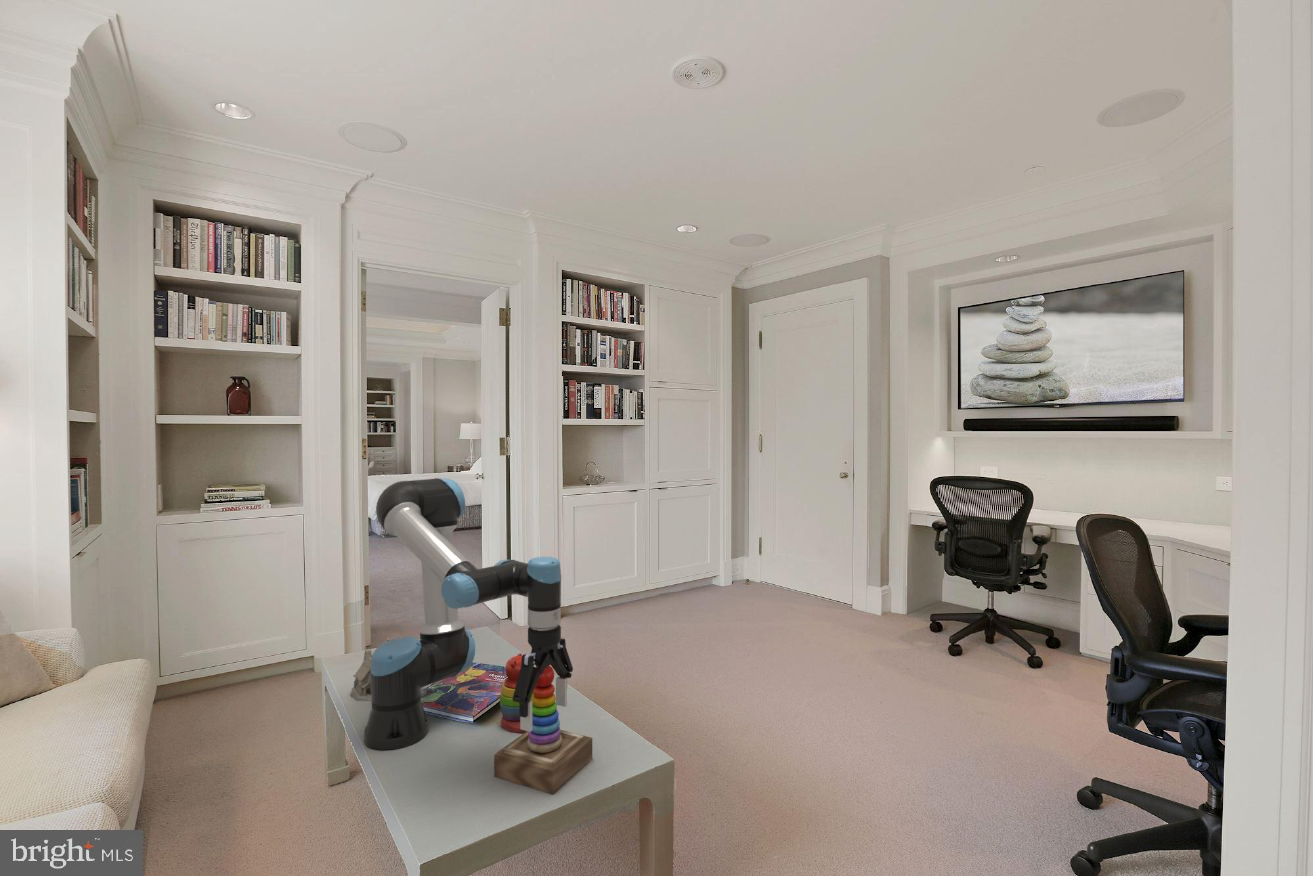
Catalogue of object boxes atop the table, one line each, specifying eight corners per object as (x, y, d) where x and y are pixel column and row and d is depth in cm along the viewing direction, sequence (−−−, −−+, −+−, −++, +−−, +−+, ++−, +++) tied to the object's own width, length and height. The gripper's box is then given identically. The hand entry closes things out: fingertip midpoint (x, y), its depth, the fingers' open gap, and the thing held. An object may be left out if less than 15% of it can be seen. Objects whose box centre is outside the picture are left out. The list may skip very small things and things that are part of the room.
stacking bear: (528, 734, 159) (528, 665, 159) (492, 730, 161) (492, 662, 161) (544, 715, 170) (544, 650, 170) (510, 712, 172) (510, 648, 172)
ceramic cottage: (347, 690, 186) (350, 641, 185) (404, 679, 196) (407, 632, 195) (358, 712, 173) (361, 660, 173) (419, 699, 183) (421, 649, 182)
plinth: (494, 776, 140) (494, 750, 140) (537, 743, 155) (537, 720, 155) (553, 794, 133) (553, 767, 133) (592, 758, 148) (592, 734, 148)
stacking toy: (563, 736, 148) (564, 658, 148) (559, 754, 140) (560, 672, 140) (530, 736, 148) (530, 658, 147) (524, 755, 140) (524, 672, 139)
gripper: (523, 645, 131) (524, 745, 131) (587, 613, 153) (587, 698, 153) (495, 639, 134) (495, 737, 134) (561, 609, 156) (561, 693, 157)
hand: (544, 717), depth 144 cm, fingers open, 13 cm apart
